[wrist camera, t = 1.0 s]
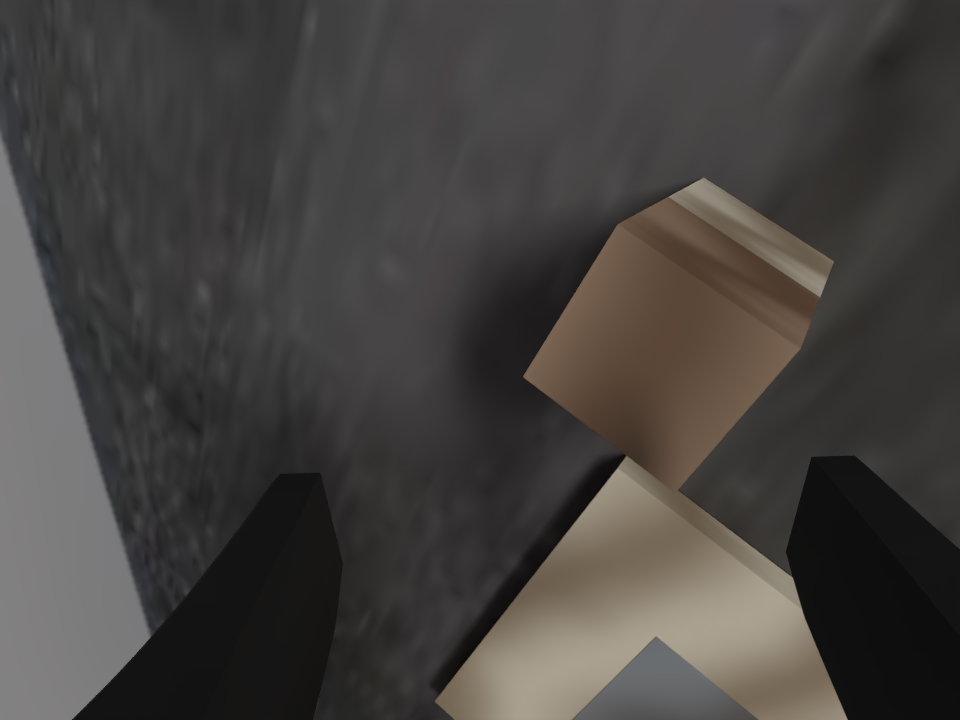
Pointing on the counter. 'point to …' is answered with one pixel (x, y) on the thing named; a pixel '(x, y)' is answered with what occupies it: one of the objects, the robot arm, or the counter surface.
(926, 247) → the counter surface
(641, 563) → the birch board
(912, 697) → the robot arm
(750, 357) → the block stack
